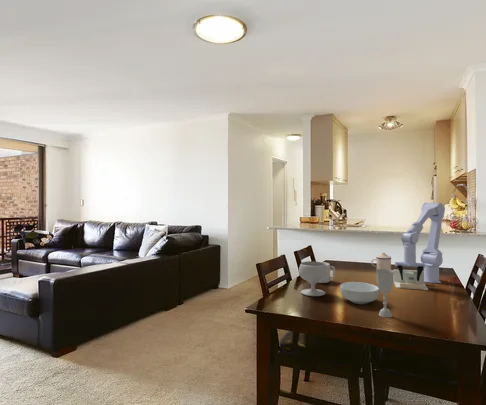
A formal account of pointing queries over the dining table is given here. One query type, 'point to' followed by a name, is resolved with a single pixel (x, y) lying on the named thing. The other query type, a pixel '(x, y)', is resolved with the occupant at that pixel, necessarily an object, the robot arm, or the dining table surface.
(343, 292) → the cereal bowl
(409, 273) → the cabinet block
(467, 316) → the dining table surface
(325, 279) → the mug
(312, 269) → the chalice
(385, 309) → the chalice
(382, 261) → the teacup with lid
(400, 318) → the dining table surface
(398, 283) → the cream l-shaped stand
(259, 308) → the dining table surface
